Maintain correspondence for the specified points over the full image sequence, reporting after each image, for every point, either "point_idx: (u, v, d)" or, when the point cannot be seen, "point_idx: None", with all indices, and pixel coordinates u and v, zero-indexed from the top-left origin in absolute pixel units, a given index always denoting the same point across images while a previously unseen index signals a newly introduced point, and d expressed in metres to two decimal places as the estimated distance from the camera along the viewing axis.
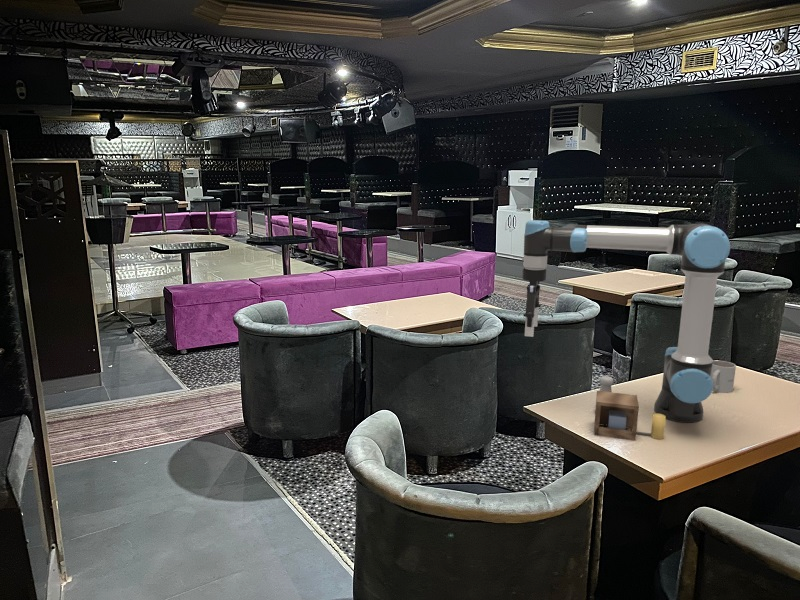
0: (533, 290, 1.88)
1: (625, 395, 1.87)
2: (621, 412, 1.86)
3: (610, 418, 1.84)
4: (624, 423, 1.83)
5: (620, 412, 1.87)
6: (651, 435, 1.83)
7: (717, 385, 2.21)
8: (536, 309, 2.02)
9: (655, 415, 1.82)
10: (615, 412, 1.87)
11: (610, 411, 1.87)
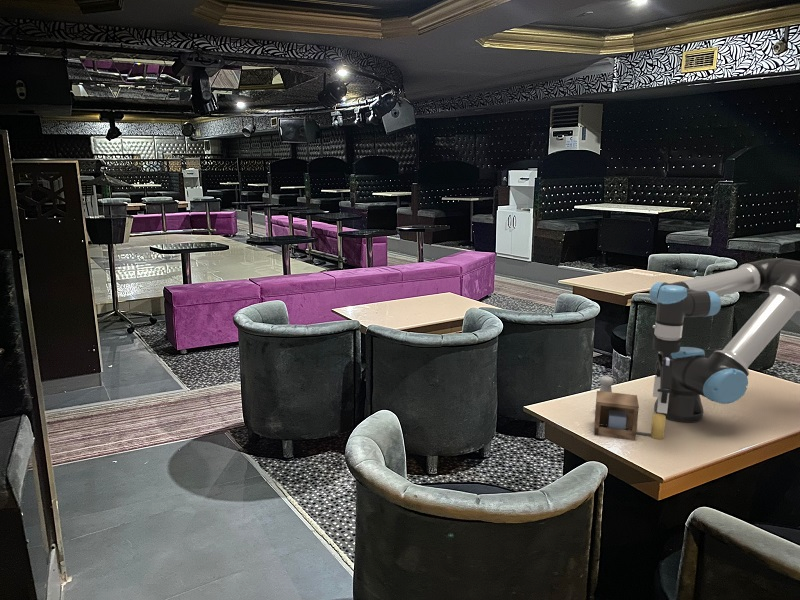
0: (670, 363, 1.71)
1: (625, 395, 1.87)
2: (621, 412, 1.86)
3: (610, 418, 1.84)
4: (624, 423, 1.83)
5: (620, 412, 1.87)
6: (651, 435, 1.83)
7: None
8: None
9: (655, 415, 1.82)
10: (615, 412, 1.87)
11: (610, 411, 1.87)
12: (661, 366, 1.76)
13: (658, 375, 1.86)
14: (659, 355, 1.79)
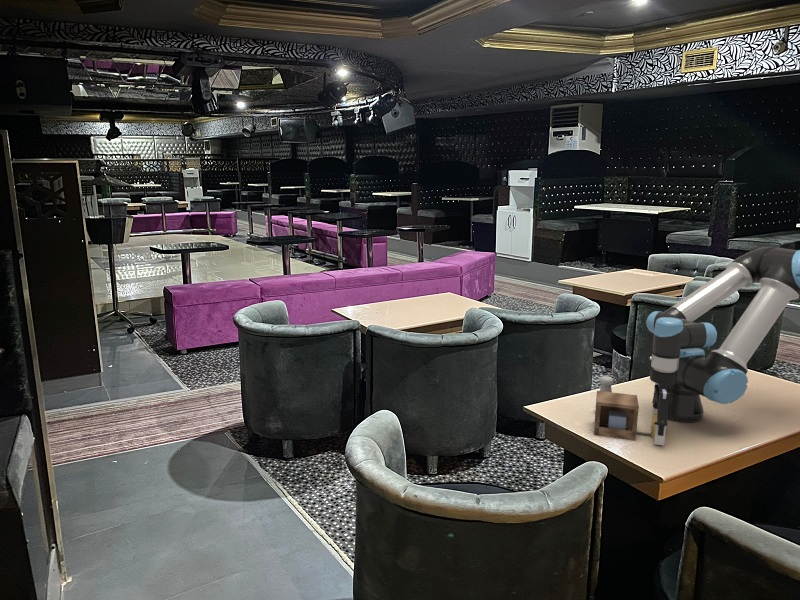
0: (666, 397, 1.73)
1: (625, 395, 1.87)
2: (621, 412, 1.86)
3: (610, 418, 1.84)
4: (624, 423, 1.83)
5: (620, 412, 1.87)
6: (651, 435, 1.83)
7: None
8: None
9: (655, 415, 1.82)
10: (615, 412, 1.87)
11: (610, 411, 1.87)
12: (658, 397, 1.79)
13: (656, 407, 1.88)
14: (656, 386, 1.81)
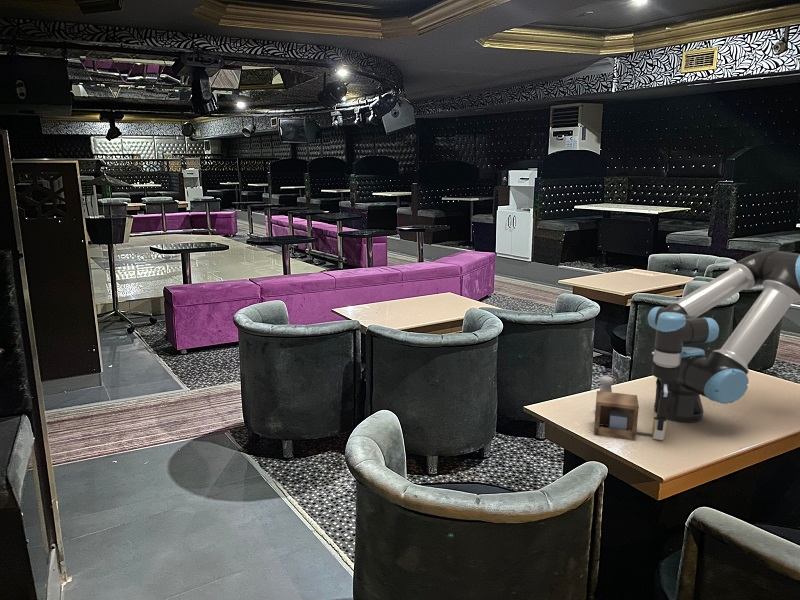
0: (667, 396, 1.74)
1: (625, 395, 1.87)
2: (622, 412, 1.86)
3: (611, 418, 1.84)
4: (625, 423, 1.83)
5: (621, 412, 1.86)
6: (652, 435, 1.83)
7: None
8: None
9: (656, 415, 1.82)
10: (616, 412, 1.87)
11: (611, 411, 1.87)
12: None
13: None
14: (658, 380, 1.81)
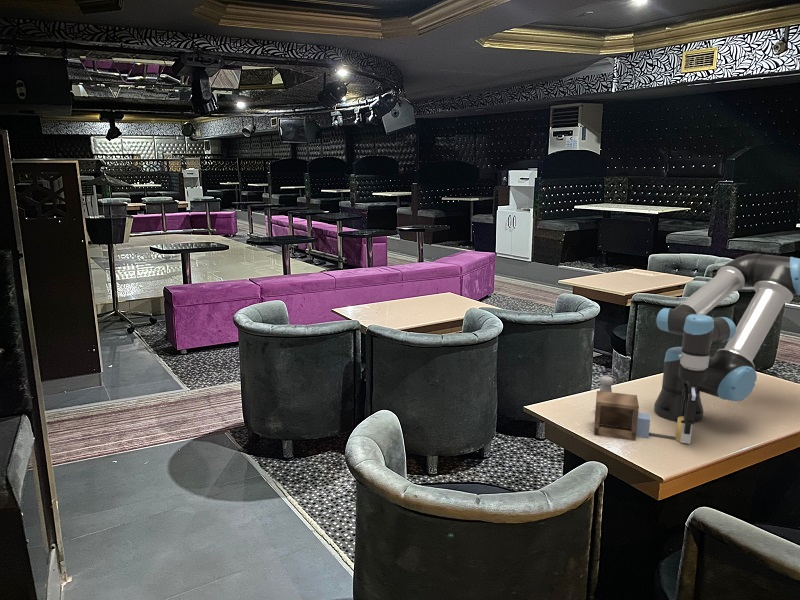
0: (695, 399, 1.72)
1: (625, 395, 1.87)
2: (645, 414, 1.85)
3: None
4: (648, 425, 1.81)
5: (644, 414, 1.85)
6: (676, 438, 1.81)
7: None
8: None
9: (680, 418, 1.80)
10: (639, 414, 1.85)
11: None
12: None
13: None
14: (685, 383, 1.78)
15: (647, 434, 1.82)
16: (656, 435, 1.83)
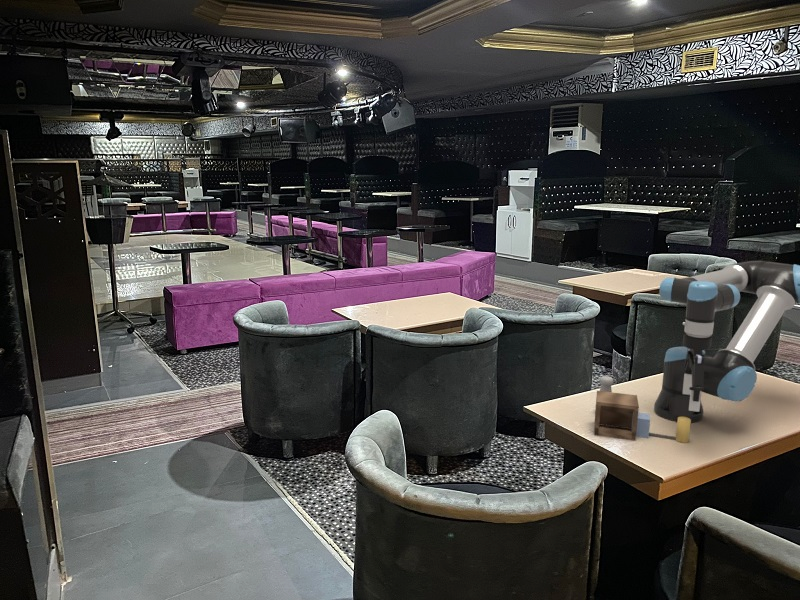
0: (701, 361, 1.68)
1: (625, 395, 1.87)
2: (645, 414, 1.85)
3: None
4: (648, 425, 1.81)
5: (644, 414, 1.85)
6: (676, 438, 1.81)
7: None
8: (692, 376, 1.83)
9: (680, 418, 1.80)
10: (639, 414, 1.85)
11: None
12: None
13: (688, 372, 1.84)
14: (689, 352, 1.76)
15: (647, 434, 1.82)
16: (656, 435, 1.83)
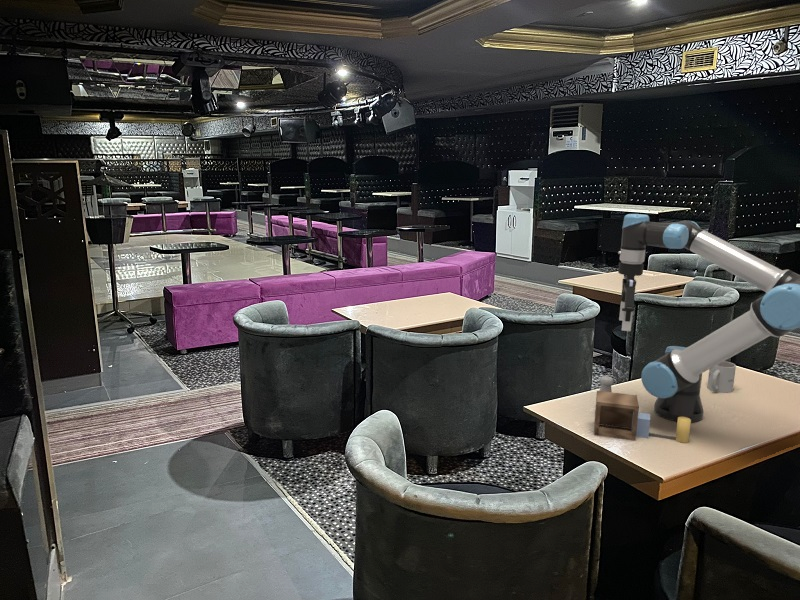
0: (633, 284, 1.87)
1: (625, 395, 1.87)
2: (645, 414, 1.85)
3: None
4: (648, 425, 1.81)
5: (644, 414, 1.85)
6: (676, 438, 1.81)
7: (717, 385, 2.21)
8: None
9: (680, 418, 1.80)
10: (639, 414, 1.85)
11: None
12: None
13: (624, 300, 2.02)
14: (624, 279, 1.94)
15: (647, 434, 1.82)
16: (656, 435, 1.83)
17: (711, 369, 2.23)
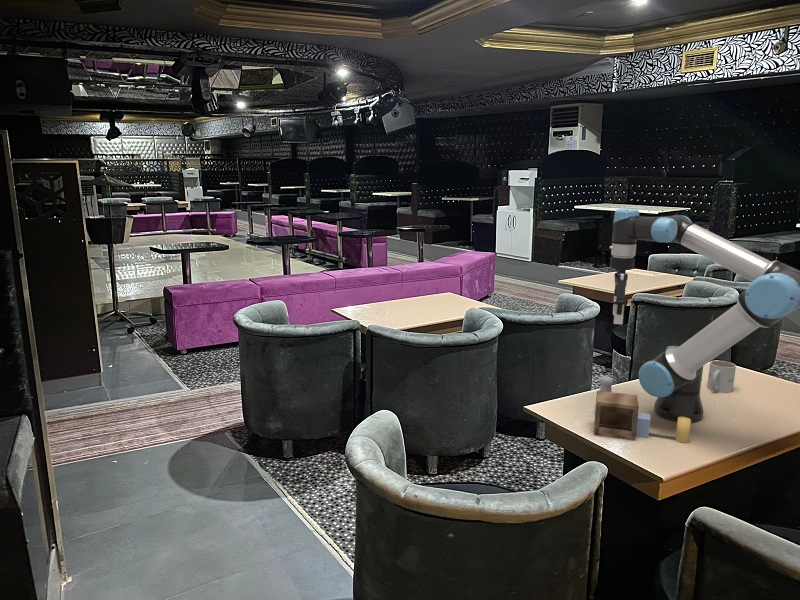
0: (624, 278, 1.89)
1: (625, 395, 1.87)
2: (645, 414, 1.85)
3: None
4: (648, 425, 1.81)
5: (644, 414, 1.85)
6: (676, 438, 1.81)
7: (717, 385, 2.21)
8: None
9: (680, 418, 1.80)
10: (639, 414, 1.85)
11: None
12: (617, 283, 1.95)
13: None
14: (616, 274, 1.97)
15: (647, 434, 1.82)
16: (656, 435, 1.83)
17: (711, 369, 2.23)
